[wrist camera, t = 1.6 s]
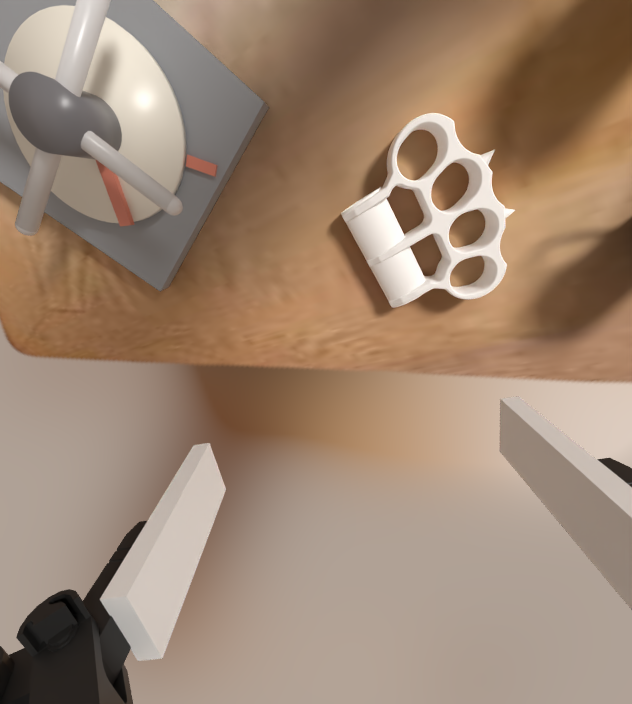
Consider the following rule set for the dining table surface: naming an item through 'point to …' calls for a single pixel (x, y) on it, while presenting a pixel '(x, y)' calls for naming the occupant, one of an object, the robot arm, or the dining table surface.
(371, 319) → the dining table surface
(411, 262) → the white brass knuckles
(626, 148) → the dining table surface
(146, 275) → the dial board
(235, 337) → the dining table surface
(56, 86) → the capstan
